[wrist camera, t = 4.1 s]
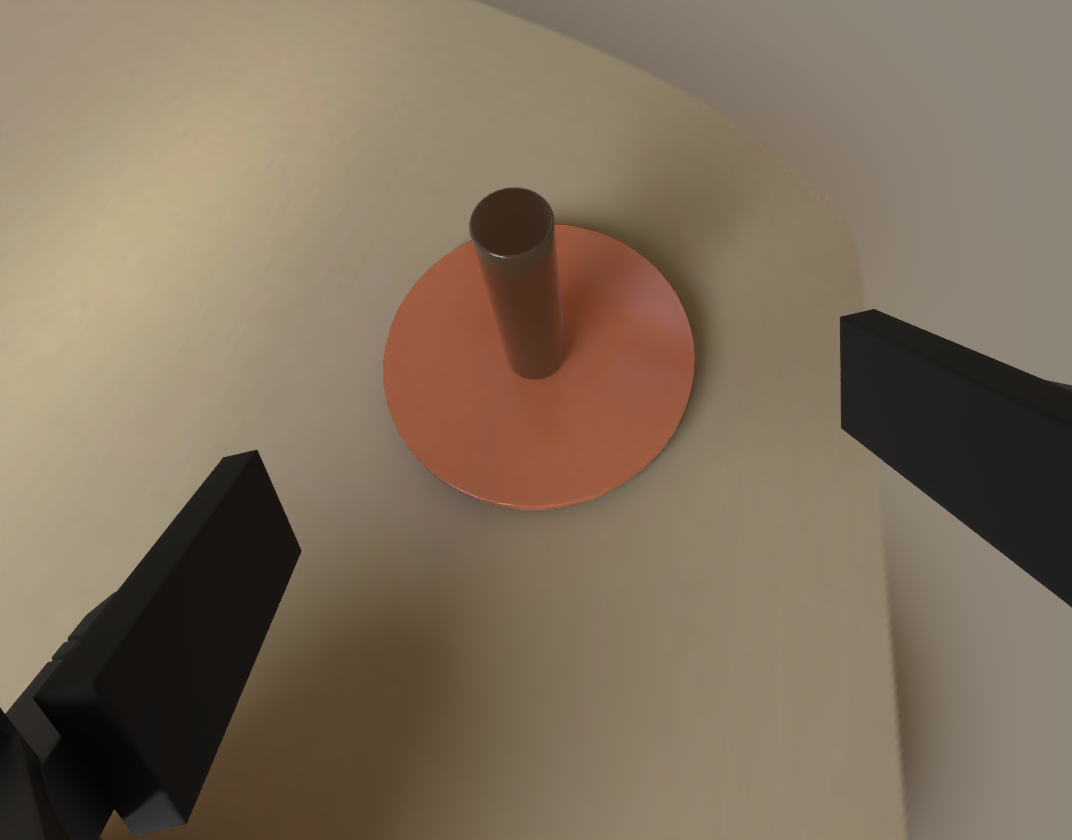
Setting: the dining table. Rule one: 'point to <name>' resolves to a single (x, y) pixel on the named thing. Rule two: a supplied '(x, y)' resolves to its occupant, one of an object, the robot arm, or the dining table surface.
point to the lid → (538, 360)
